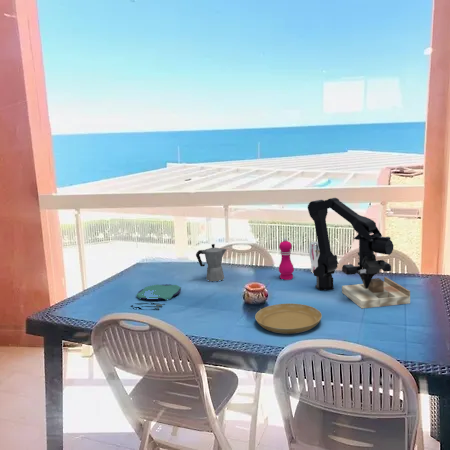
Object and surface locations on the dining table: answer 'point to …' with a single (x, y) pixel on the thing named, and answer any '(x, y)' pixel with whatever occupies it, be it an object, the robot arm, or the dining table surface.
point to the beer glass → (314, 255)
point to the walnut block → (376, 285)
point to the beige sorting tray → (377, 295)
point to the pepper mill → (285, 260)
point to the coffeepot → (213, 262)
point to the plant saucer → (288, 318)
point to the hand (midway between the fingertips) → (366, 288)
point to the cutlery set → (160, 292)
